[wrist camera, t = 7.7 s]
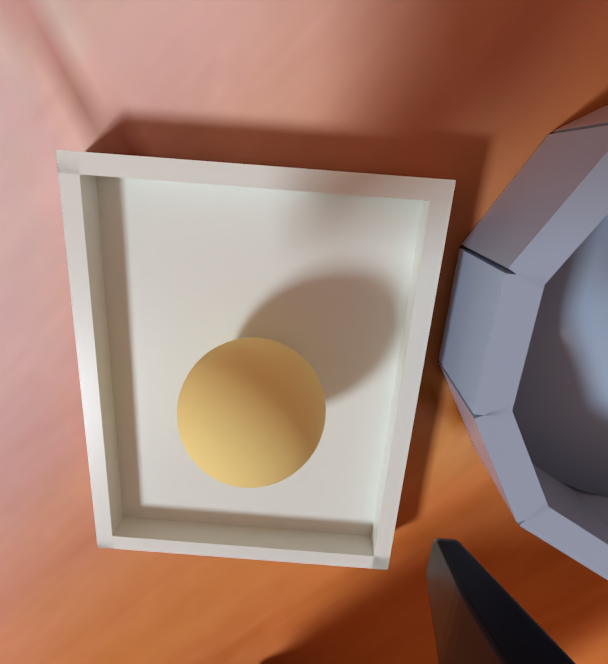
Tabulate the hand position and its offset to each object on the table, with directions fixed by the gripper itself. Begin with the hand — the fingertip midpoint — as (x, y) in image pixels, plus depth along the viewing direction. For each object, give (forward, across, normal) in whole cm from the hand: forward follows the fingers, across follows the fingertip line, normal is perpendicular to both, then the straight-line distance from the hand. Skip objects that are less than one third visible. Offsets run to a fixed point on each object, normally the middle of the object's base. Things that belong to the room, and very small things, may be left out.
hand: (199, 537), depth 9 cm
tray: (+8, 0, 0) cm, 8 cm away
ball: (+5, 0, 0) cm, 5 cm away
